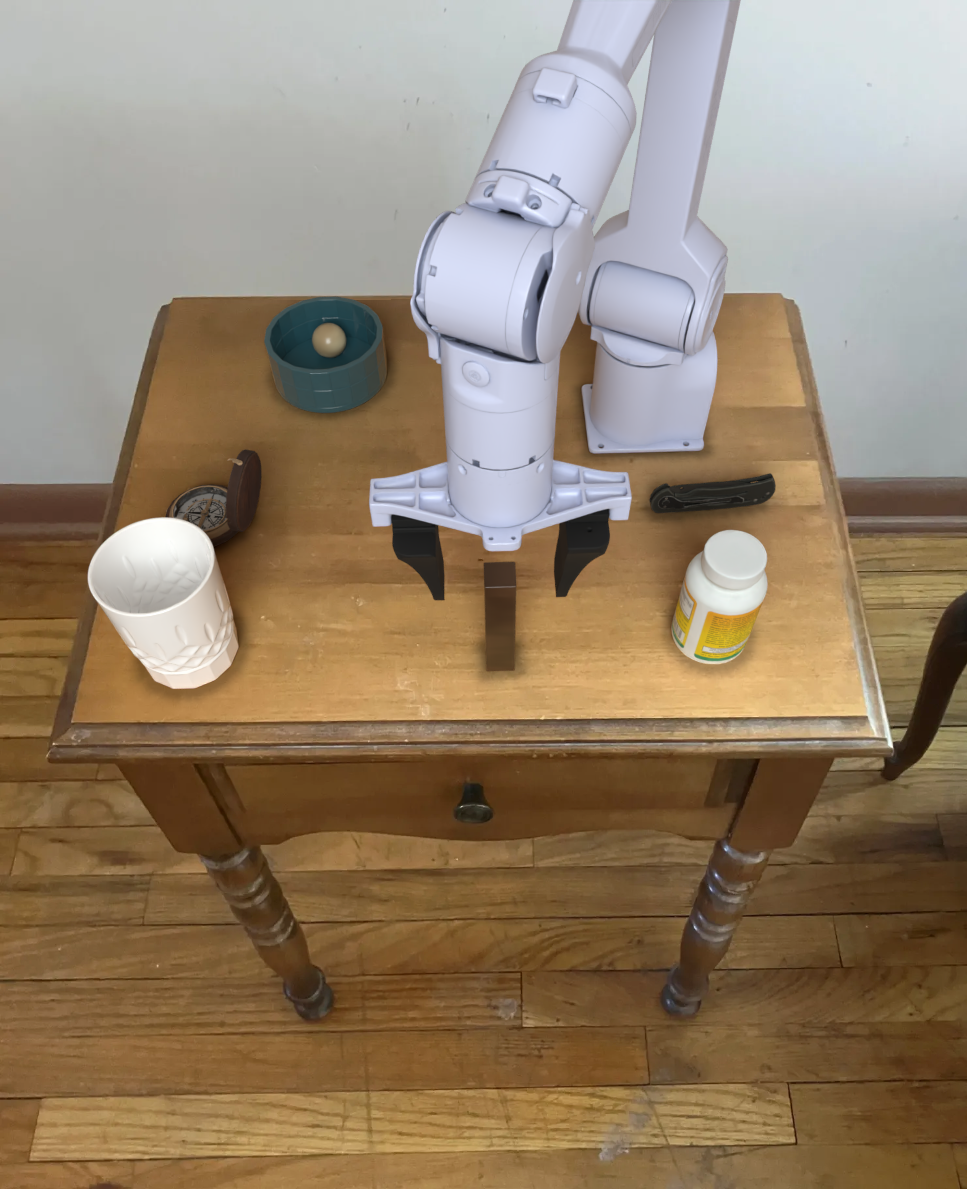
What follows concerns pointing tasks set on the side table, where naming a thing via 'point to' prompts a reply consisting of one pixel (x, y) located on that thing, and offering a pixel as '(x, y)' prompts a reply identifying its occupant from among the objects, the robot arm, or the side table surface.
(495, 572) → the stirring stick
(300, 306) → the bowl
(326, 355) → the bead
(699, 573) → the supplement bottle
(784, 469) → the side table surface
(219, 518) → the compass
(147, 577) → the white cup
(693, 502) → the folding knife
